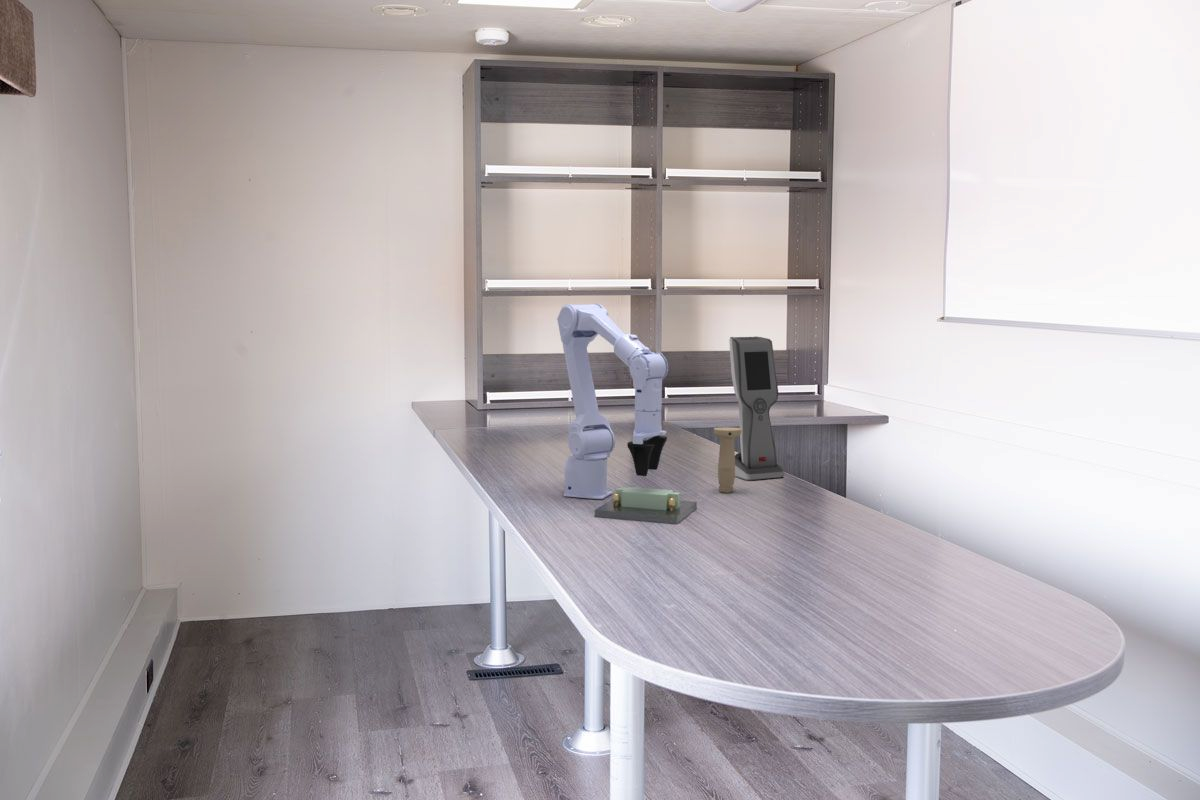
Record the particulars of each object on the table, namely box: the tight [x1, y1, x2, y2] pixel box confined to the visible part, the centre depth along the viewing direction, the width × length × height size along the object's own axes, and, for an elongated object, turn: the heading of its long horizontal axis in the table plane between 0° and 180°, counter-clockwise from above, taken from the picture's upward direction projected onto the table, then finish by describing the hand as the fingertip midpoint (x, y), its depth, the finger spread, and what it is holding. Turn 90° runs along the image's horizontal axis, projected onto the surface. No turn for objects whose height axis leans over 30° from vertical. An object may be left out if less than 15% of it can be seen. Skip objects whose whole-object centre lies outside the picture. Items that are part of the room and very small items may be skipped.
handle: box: [713, 426, 741, 494], centre depth 258 cm, size 5×6×15 cm
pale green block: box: [614, 486, 681, 510], centre depth 235 cm, size 14×6×3 cm, turn 71°
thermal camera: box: [728, 336, 785, 481], centre depth 278 cm, size 12×13×35 cm
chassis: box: [594, 492, 698, 525], centre depth 236 cm, size 18×16×4 cm
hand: (646, 472), depth 237 cm, fingers open, 7 cm apart
